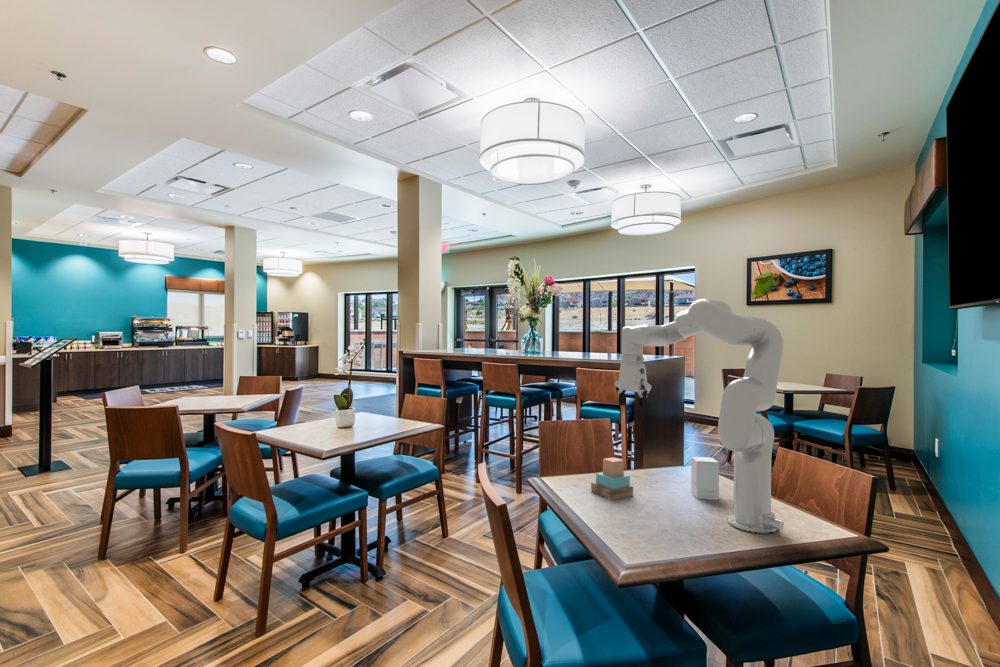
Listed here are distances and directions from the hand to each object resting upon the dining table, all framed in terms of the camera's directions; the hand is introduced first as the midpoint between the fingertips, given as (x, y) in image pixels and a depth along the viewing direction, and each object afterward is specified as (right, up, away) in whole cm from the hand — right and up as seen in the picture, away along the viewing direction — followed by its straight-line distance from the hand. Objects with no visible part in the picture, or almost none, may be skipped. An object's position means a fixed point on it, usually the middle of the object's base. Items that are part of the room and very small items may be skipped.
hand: (632, 406), depth 171 cm
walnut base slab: (-9, -29, -9) cm, 32 cm away
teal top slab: (-9, -26, -9) cm, 29 cm away
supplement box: (+22, -29, -11) cm, 38 cm away
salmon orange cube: (-9, -22, -8) cm, 25 cm away
